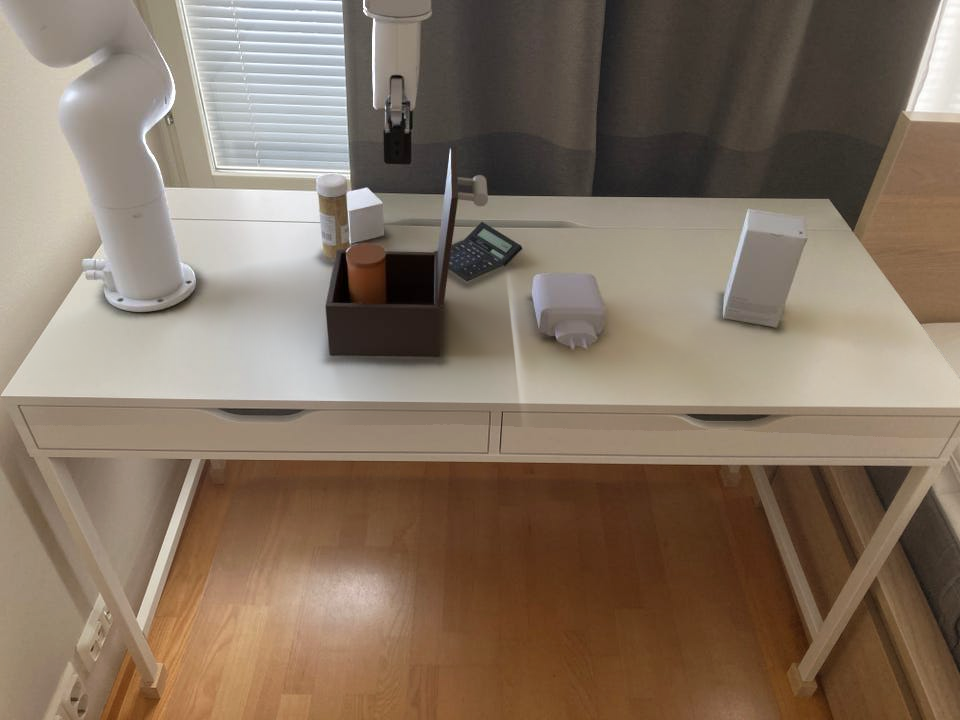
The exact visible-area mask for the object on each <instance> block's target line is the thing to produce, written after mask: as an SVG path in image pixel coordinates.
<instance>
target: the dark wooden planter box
mask: <svg viewBox="0 0 960 720" xmlns="http://www.w3.org/2000/svg"><path fill="white" fill-rule="evenodd" d="M385 251H386V297H387V304H361V303H350V297H349V281H348V265H347V259H346V252H347V250H336V254H335V259H334V261H333V265H332V271H331V275H330V281H329V285H328V291H327V296H326V300H325V318H326V329H327V338H328V339H327V341H328V352H329V356H351V357H352V356H354V357H355V356H356V357H407V358H410V357H411V358H413V357H414V358H440V336H441V335H440V334H441V305H437V287H438V252H435V251H401V250H400V251H399V250H398V251H397V250H396V251H393V250H385Z"/></svg>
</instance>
